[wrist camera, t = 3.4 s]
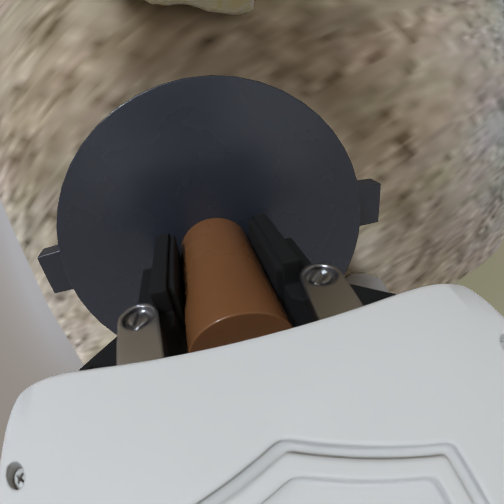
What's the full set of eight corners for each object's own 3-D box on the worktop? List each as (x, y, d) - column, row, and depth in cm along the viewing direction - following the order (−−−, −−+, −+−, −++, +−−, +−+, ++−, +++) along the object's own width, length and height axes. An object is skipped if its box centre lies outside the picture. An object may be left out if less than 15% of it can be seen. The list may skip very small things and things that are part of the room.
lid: (30, 131, 9) (-80, 174, 3) (344, 71, 11) (469, 69, 5) (126, 361, 16) (123, 462, 10) (341, 311, 18) (397, 392, 12)
